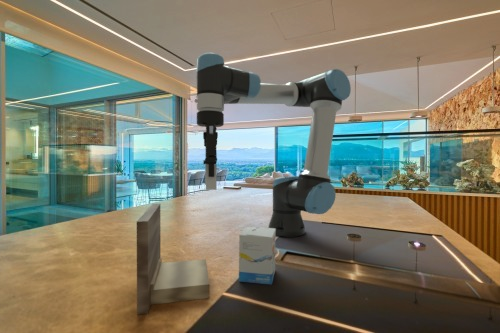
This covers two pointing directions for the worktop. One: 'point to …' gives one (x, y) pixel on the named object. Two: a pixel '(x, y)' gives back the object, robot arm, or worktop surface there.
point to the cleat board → (164, 269)
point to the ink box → (257, 255)
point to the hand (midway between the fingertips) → (210, 187)
